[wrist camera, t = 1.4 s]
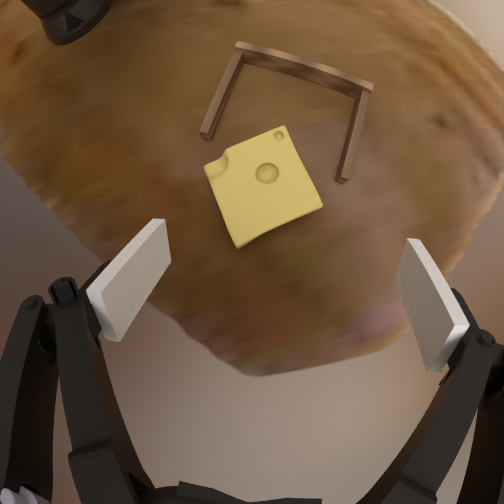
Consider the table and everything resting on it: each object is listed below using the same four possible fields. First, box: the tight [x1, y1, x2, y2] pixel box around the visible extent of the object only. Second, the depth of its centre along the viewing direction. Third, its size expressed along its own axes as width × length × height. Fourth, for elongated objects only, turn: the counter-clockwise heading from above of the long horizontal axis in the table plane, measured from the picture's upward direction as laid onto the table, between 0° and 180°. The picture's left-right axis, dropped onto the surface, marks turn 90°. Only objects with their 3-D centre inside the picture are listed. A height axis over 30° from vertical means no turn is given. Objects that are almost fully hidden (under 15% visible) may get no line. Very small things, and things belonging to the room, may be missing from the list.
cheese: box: [204, 126, 323, 248], centre depth 34 cm, size 10×11×10 cm
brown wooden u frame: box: [199, 41, 374, 184], centre depth 36 cm, size 20×15×4 cm
